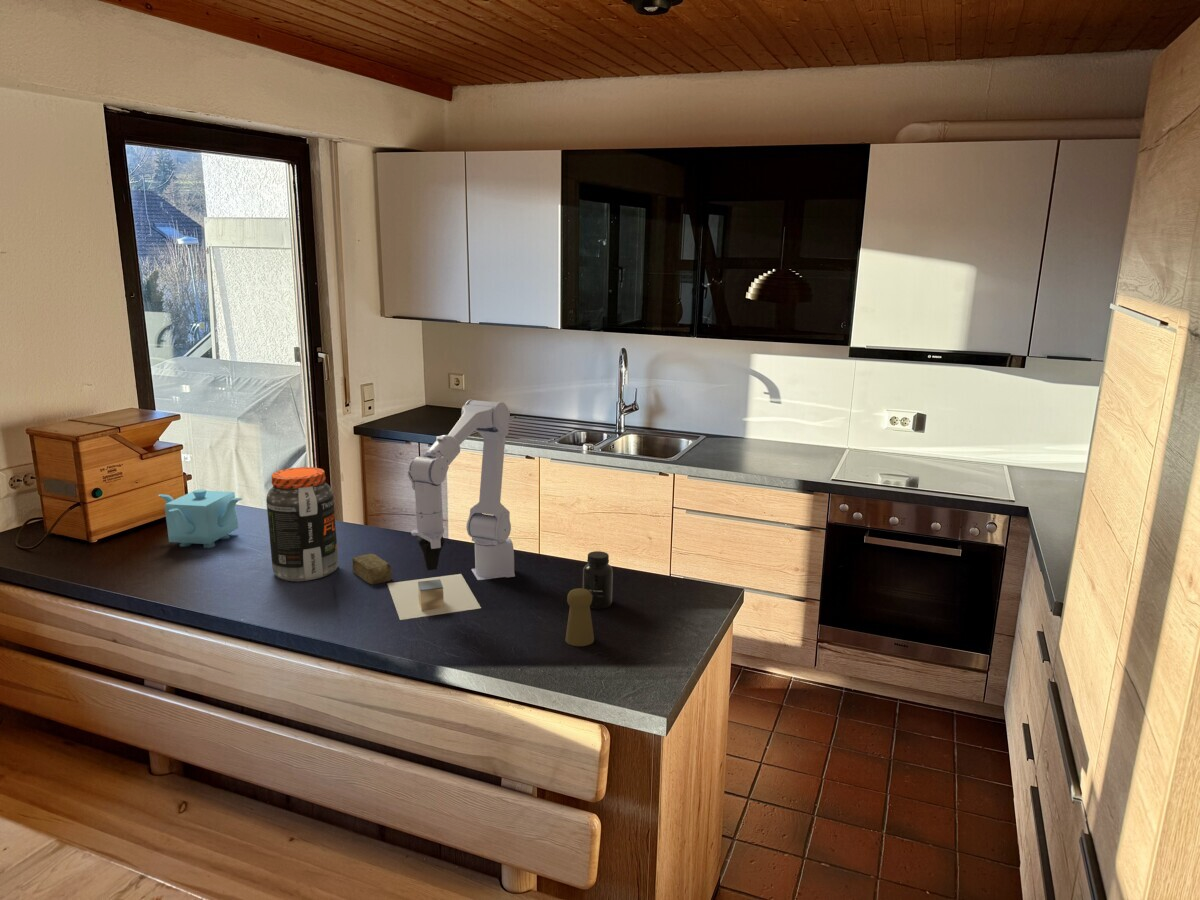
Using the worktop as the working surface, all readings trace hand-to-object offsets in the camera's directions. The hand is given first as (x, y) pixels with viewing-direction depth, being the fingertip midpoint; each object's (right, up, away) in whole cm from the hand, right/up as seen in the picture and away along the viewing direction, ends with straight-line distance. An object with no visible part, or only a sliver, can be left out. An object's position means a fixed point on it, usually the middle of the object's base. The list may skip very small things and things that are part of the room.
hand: (431, 568), depth 188 cm
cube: (-1, -4, +2) cm, 5 cm away
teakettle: (-73, +1, +46) cm, 86 cm away
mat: (-2, -8, +9) cm, 12 cm away
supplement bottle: (+37, -9, +6) cm, 39 cm away
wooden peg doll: (+33, -13, -12) cm, 38 cm away
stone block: (-19, -6, +21) cm, 29 cm away
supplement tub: (-37, -4, +25) cm, 44 cm away
